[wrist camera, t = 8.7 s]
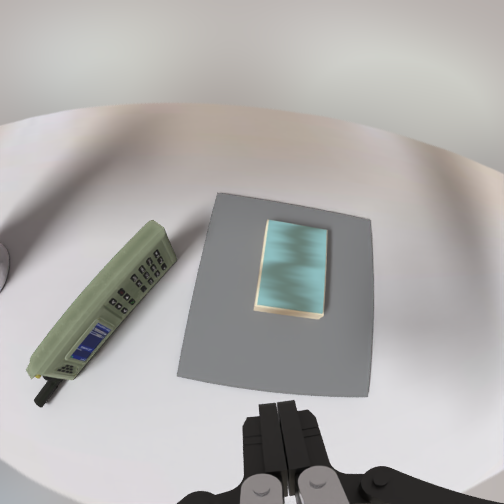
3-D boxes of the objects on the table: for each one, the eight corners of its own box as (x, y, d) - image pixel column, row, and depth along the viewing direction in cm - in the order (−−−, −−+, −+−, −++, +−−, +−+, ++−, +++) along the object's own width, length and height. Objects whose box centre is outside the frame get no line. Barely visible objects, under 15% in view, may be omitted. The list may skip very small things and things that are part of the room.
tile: (255, 305, 28) (267, 218, 32) (253, 310, 30) (265, 227, 34) (324, 315, 28) (328, 228, 32) (318, 319, 30) (323, 236, 34)
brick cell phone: (182, 262, 32) (52, 415, 23) (162, 246, 33) (36, 394, 24) (169, 232, 26) (17, 415, 17) (147, 214, 27) (1, 389, 18)
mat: (177, 376, 27) (176, 376, 26) (217, 195, 36) (217, 192, 35) (365, 396, 27) (367, 397, 26) (368, 222, 36) (370, 220, 36)
